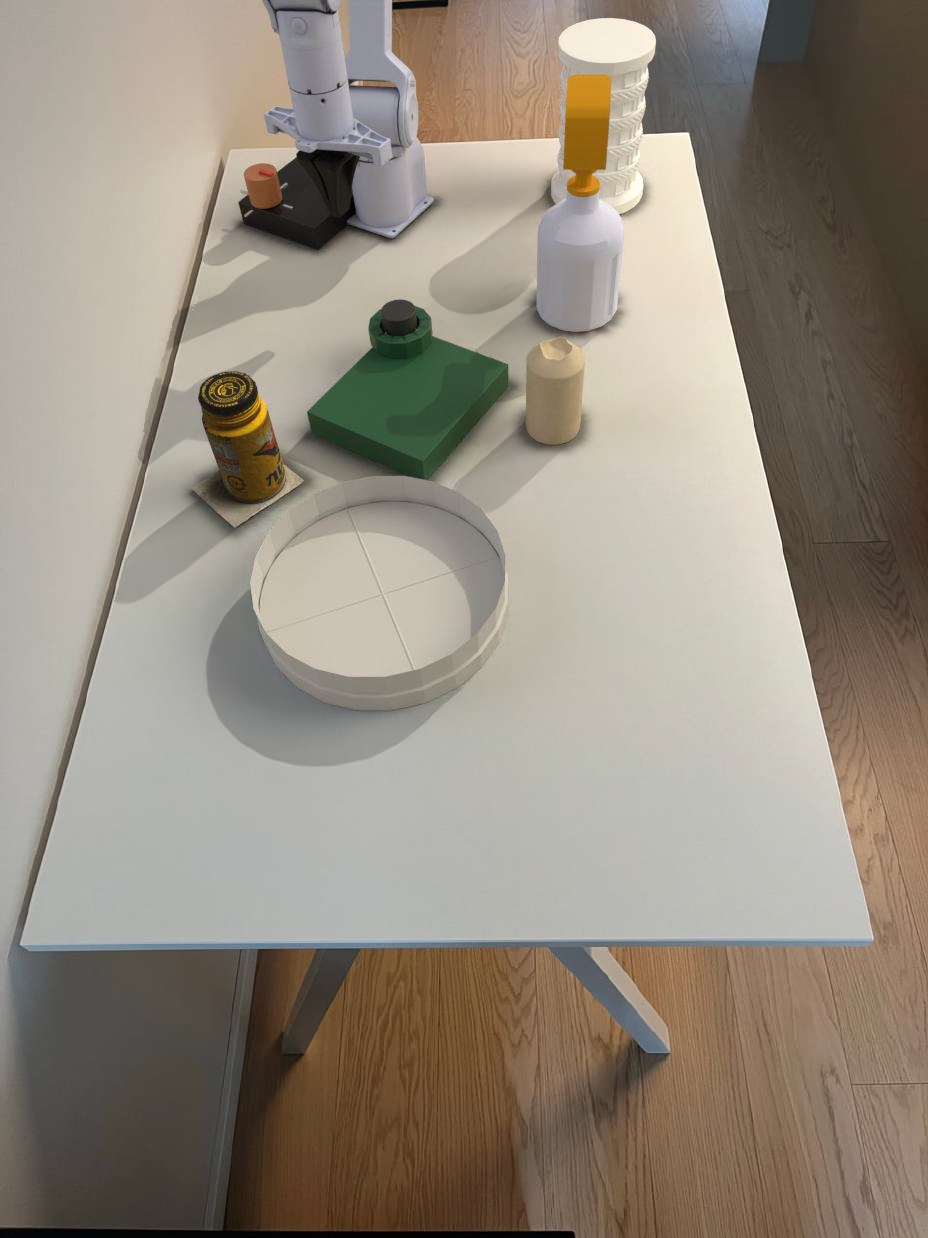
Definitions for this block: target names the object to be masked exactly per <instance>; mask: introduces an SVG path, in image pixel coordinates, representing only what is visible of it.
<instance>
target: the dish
mask: <svg viewBox="0 0 928 1238" xmlns="http://www.w3.org/2000/svg"><path fill="white" fill-rule="evenodd" d="M250 576H251V577H250V582H249V584H250V585H249V586H250V593H251V600H252V609H253V611H254V613H255V616H256V618H257V625H258V631H259V632H260V635H261V638H262V640H263V643H264V645H265V647H266V649H267V651H268V652H269V655H270V657H271V659H272V661H273V664H274V665H275V667H276V668H277V669H278V671H279V672H281V673H282V674H283V676H285V677H286V678H287V680H289V681H290V683H292V684H293V685H294V686H295V687H296V688H297V689H299V690H300V691H302V692H304V693H306V694H308V695H309V696H311V697H313V698H315V699H317V700H319V701H320V702H323V703H325V704H329V705H333V706H337V707H341V708H345V709H349V710H352V711H353V710H354V711H372V712H373V711H375V712H376V711H377V712H378V711H379V712H380V711H383V712H385V711H387V712H390V711H392V712H393V711H396V710H400V709H405V708H410V707H413V706H414V707H415V706H418V705H423V704H426V703H427V704H428V702H431V701H433V700H435V699H437V698H439V697H441V696H444V694H448V693H450V692H452V691H453V690H456V689H457V688H459V687H460V686H461V685H462V684H464V683H465V682H466V681H467V680H468V679H470V678H471V677H472V676H473V675H474V674H476V673H477V672H478V671H479V670H480V669H482V668H483V666H484V665H485V663H486V662H487V661H488V659H489V657H490V656H491V655H492V654H493V652H494V651H495V649H496V648H497V646H498V645H499V644H500V642H501V638H502V635H503V632H504V629H505V627H506V624H507V620H508V617H509V574H508V572H507V568H506V553H505V549H504V546H503V543H502V540H501V537H500V534H499V531H498V529H497V528H496V527H495V525H494V524H493V523H492V521H491V520H490V519H489V517H488V516H487V514H486V513H485V512H484V511H483V509H482V508H481V507H479V506H478V505H476V504H475V503H474V502H472V501H471V500H470V499H468V498H467V497H466V496H465V495H463V494H462V493H460V492H459V491H456V490H454V489H452V488H450V487H447V486H445V485H442V484H440V483H438V482H435V481H433V480H429V479H428V480H423V479H418V478H413V477H410V476H408V475H372V476H371V475H370V476H366V477H361V478H356V479H351V480H346V481H342V482H339V483H336V484H334V485H332V486H330V487H327V488H325V489H322V490H321V491H318V492H314V493H313V494H311V495H310V496H308V497H307V498H305V499H303V501H301V502H299V503H298V504H297V505H295V506H294V507H292V508H290V509H289V510H287V512H286V513H285V514H284V515H283V516H282V517H281V518H280V519H279V520H278V521H277V522H276V524H274V526H273V527H272V528H270V530H269V531H268V532H267V534H266V536H265V537H264V540H263V542H262V543H261V545H260V547H259V549H258V551H257V553H256V555H255V556H254V562H253V566H252V572H251V575H250Z"/></svg>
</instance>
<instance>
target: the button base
mask: <svg viewBox="0 0 928 1238" xmlns="http://www.w3.org/2000/svg"><path fill="white" fill-rule="evenodd" d="M414 306H415V309H416V318H417V328H416V330H415V331H414V332H413V333H410V334H408V335H405V336H391V335H388V334H386V333H385V331H384V329H383V324H382V317H381V309H382V308H380V309H378V310H377V311H376V312H375V313H374V314H373V315H372V316H371V317H370V318H369V322H368V336H369V343H370V345H371V348H370V349H369V350H368V351H367V352H366V353H365V354H364V355H363V356H362V357H361V358H360V359H359V360H358V361H356V363H354V365H353V366H352V367H350V369H349V370H348V371H346V373H344V375H343V376H341V378H339V379H338V381H336V383H334V384H333V385H332V386H331V387H330V388H329V389H328V390H327V391H326V392H325V393H324V394H323V395H322V396H321V397H320V398H319V399H318V400H317V401H316V402H315V403H314V404H313V405H312V406H311V407H310V408H309V409H308V410H307V411H306V415H307V418H308V422H309V426H310V431H311V434H312V435H314V436H317V437H319V438H321V439H323V440H326V441H328V442H331V443H333V444H335V445H337V446H340V447H341V448H344V449H346V450H349V451H350V452H353V453H356V454H357V455H360V456H362V457H364V458H367V459H369V460H372V461H374V462H376V463H378V464H380V465H383V466H385V467H387V468H390V469H392V470H395V471H397V472H399V473H401V474H403V475H405V476H407V477H412V478H418V479H423V480H429V479H430V478H431V477H432V475H434V474H435V472H436V471H437V470H438V469H439V468H440V467H441V466H442V464H443V463H444V462H445V460H447V458H448V457H449V456H450V455H451V454H452V453H453V451H454V450H455V449H456V448H457V447H458V446H459V445H460V444H461V442H462V441H463V440H464V439H465V438H466V436H467V435H468V434H469V433H470V432H471V431H472V430H473V428H474V427H475V426H476V425H477V424H478V423H479V422H480V421H481V419H482V418H483V417H484V416H485V415H486V413H487V412H488V411H489V410H490V409H491V408H492V407H493V406H494V404H495V403H496V402H497V401H498V399H500V397H501V396H502V395H503V394H504V393H505V391H506V390H507V389H509V386H510V385H509V364H508V363H507V362H504V361H501V360H498V359H496V358H493V357H490V356H487V355H484V354H482V353H479V352H477V351H473V350H471V349H468V348H465V347H463V346H460V345H458V344H455V343H452V342H450V341H447V340H445V339H441V338H438V337H436V336H433V333H434V332H433V322H432V316H431V315H430V314H429V313H428V312H427V311H426V310H425V308H422V307H419V306H416V305H414Z"/></svg>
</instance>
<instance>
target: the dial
mask: <svg viewBox="0 0 928 1238" xmlns="http://www.w3.org/2000/svg"><path fill="white" fill-rule="evenodd" d="M277 172H278V170H277V168H276V166H275V165H273V164H270V163H265V162H263V163H262V162H261V163H255V164H252V165H250V166H248V167H247V168H246V169H245V170H244V172H243V178H244V182H245V186H246V190H247V192H248V195H249V199H250V203H251V205H252V206H254V207H256V208H260V209H267V208H272V207H274V206H276V205H278V204H279V203H280V202H281V201H282V193H281V188H280V184H279V179H278V174H277Z"/></svg>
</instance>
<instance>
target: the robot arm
mask: <svg viewBox="0 0 928 1238" xmlns="http://www.w3.org/2000/svg"><path fill="white" fill-rule="evenodd" d="M341 1H342V0H261V2H262V3H263V6H264V7H265V9H266V11H267V13H268V17H269V21H270V25H271V26H270V27H271V30H272V31H273V33H275V34H276V35H278V37H279V41H280V47H281V48H280V49H281V53H282V57H283V62H284V68H285V74H286V79H287V83H288V89H289V93H290V95H289V96H290V98H291V99H290V100H291V104H292V107H283V106H279V105H274V106H273V107H271V108H270V109H269V110H267V111H266V112H265V113H263V117H264V122H265V126H266V131H267V133H269V134H272V135H277V134H279V133H282V134H285V135H288V136H289V137H291V138H292V139H293V140H295V141H294V144H295V148H296V150H298V151H297V152H296V156H295V158H296V157H297V161H298V162H299V164H300V165H301V166H302V167H303V168H304V169H305V170H306V172H307V173H308V174H309V176H310V177H311V179H312V180H313V182H314V183H315V185H316V187H317V189H318V191H319V193H320V195H321V197H322V199H323V201H324V203H325V205H326V207H327V210H328V212H329V214H330V215H333V216H336V217H341V216H342V215H343V214H345V213H346V212H347V211H348V210H349V209H350V200H351V190H353V197H354V203H355V210H356V213H355V214H354V215H353V216H352V217H351V218H350V219H348V220H347V224H348V225H349V226H352V227H356V228H359V229H362V230H365V231H367V232H371V233H373V234H376V235H379V236H383V237H386V238H389V239H395V238H396V237H397V236H398V235H399V234H400V233H401V232H402V231H403V230H404V229H406V228H407V227H408V226H409V225H410V224H411V223H412V222H413V221H414V220H416V219H417V218H418V217H419V216H420V215H421V214H422V213H423V212H424V211H426V209H428V208H430V206H431V205H432V204H433V203H434V202H435V201H434V197H433V196H429V195H428V183H427V171H426V160H425V159H426V158H425V151H424V147H423V144H422V143H421V141H420V140H419V139H420V138H418V137H417V136H418V130H419V103H418V102H419V101H418V97H417V81H416V78H415V75H414V73H413V71H412V70H411V69H410V68H409V67H408V66H407V65H406V64H405V63H404V62H403V61H402V60H401V59H399V58H398V56H396V55H395V53H394V52H393V0H348V21H349V22H348V31H349V32H348V33H349V34H348V36H349V37H348V39H349V40H348V41H349V44H348V45H349V51H348V53H347V54H346V55H345V52H344V43H343V36H342V29H341V22H340V21H341V20H340V13H339V7H340V5H341ZM355 82H377V83H378V82H379V83H381V82H382V83H383V82H384V83H385V82H386V83H392V84H393V85H395V86H380V85H379V86H377V85H374V86H373V85H353V83H355Z"/></svg>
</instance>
